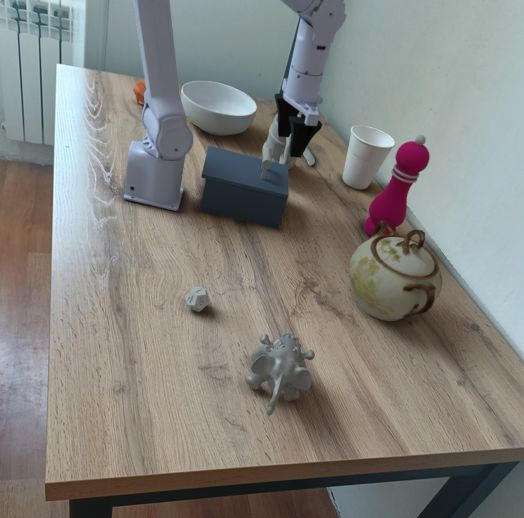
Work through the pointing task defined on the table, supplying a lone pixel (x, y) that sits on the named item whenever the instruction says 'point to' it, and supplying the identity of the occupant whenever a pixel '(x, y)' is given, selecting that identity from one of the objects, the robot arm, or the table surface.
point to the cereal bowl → (217, 107)
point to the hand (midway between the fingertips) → (289, 146)
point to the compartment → (242, 204)
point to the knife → (306, 154)
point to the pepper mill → (398, 186)
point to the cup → (365, 155)
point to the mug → (279, 145)
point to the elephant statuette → (280, 368)
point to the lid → (247, 171)
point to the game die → (197, 299)
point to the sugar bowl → (394, 275)
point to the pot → (140, 91)
